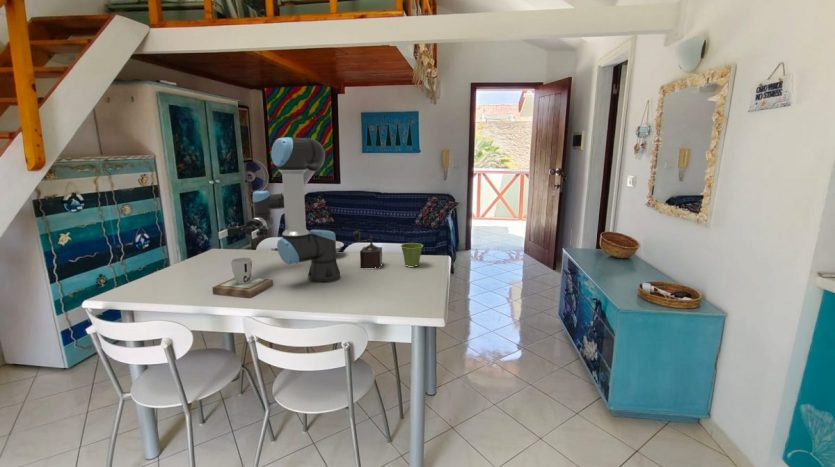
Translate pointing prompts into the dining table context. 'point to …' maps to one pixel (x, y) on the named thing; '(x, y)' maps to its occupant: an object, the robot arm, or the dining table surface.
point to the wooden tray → (243, 287)
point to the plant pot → (411, 253)
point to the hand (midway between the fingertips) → (236, 235)
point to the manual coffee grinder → (369, 254)
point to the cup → (242, 269)
